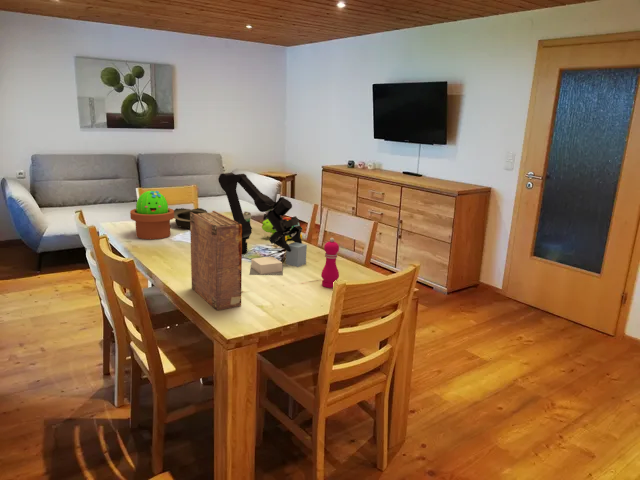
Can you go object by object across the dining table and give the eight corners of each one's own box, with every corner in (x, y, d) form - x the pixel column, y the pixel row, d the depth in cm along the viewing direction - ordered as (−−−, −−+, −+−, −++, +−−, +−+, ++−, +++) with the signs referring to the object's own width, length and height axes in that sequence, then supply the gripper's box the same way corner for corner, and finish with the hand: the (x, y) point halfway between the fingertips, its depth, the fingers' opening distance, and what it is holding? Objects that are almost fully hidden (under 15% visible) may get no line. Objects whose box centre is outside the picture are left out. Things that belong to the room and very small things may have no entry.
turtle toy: (257, 235, 270) (257, 215, 267) (296, 233, 280) (296, 213, 277) (266, 243, 255) (267, 221, 252) (307, 240, 265) (308, 219, 262)
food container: (247, 233, 274) (247, 216, 271) (236, 232, 275) (237, 215, 272) (254, 228, 286) (254, 212, 283) (244, 227, 287) (244, 211, 284)
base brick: (251, 267, 212) (251, 258, 211) (272, 264, 217) (272, 256, 216) (260, 274, 203) (260, 265, 202) (282, 271, 208) (282, 262, 207)
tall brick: (285, 266, 219) (286, 244, 216) (294, 262, 224) (294, 242, 222) (297, 269, 216) (298, 247, 213) (305, 265, 221) (306, 244, 219)
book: (191, 288, 187) (189, 212, 180) (214, 284, 192) (213, 210, 185) (217, 311, 167) (216, 226, 159) (241, 306, 172) (242, 224, 164)
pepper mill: (320, 282, 200) (322, 235, 195) (337, 282, 201) (340, 235, 196) (321, 288, 193) (323, 240, 188) (339, 288, 194) (342, 240, 189)
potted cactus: (131, 231, 265) (128, 186, 259) (172, 230, 274) (171, 186, 267) (132, 242, 246) (129, 193, 240) (176, 239, 254) (175, 192, 248)
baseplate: (249, 277, 202) (249, 274, 202) (251, 266, 217) (251, 263, 217) (282, 277, 204) (282, 275, 203) (282, 266, 218) (282, 264, 218)
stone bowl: (179, 219, 299) (180, 205, 296) (218, 225, 296) (219, 211, 294) (161, 227, 275) (162, 212, 272) (203, 234, 272) (204, 218, 270)
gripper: (274, 214, 209) (295, 243, 206) (299, 208, 224) (318, 235, 221) (260, 229, 215) (280, 257, 212) (285, 222, 230) (304, 248, 227)
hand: (296, 249), depth 218 cm, fingers open, 9 cm apart
